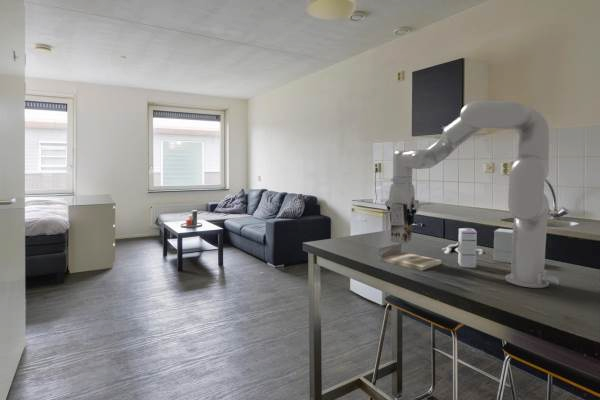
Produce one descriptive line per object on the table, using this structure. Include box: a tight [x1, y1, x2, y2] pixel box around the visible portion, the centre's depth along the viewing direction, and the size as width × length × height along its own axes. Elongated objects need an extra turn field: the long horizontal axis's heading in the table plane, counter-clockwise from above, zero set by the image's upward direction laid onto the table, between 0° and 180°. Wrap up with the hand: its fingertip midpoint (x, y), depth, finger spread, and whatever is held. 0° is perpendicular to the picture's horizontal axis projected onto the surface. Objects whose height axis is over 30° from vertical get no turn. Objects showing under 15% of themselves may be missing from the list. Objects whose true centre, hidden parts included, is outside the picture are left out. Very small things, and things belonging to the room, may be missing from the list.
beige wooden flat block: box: [378, 243, 442, 271], centre depth 152 cm, size 21×14×6 cm
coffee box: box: [390, 203, 413, 245], centre depth 154 cm, size 9×6×16 cm
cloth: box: [441, 242, 484, 255], centre depth 169 cm, size 22×19×6 cm
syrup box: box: [457, 227, 478, 269], centre depth 146 cm, size 6×6×14 cm
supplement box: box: [493, 228, 513, 264], centre depth 153 cm, size 7×7×13 cm
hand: (401, 223), depth 154 cm, fingers closed on coffee box, 7 cm apart
